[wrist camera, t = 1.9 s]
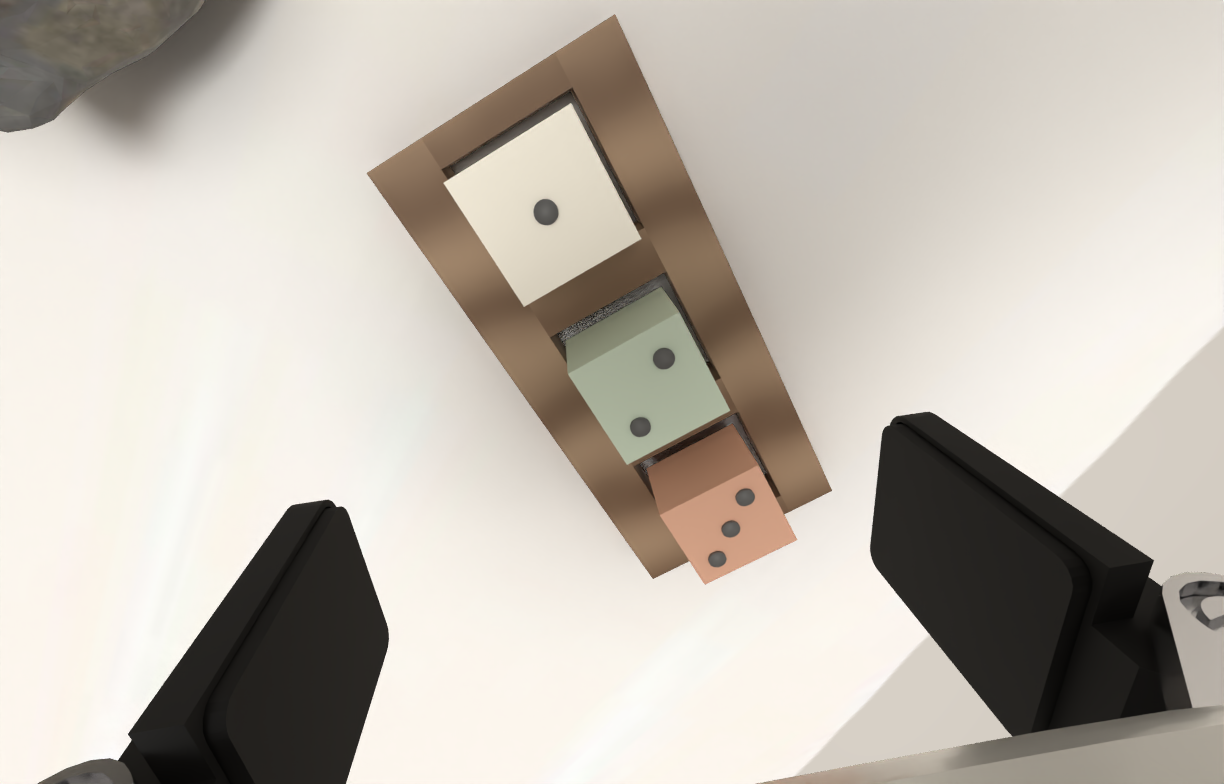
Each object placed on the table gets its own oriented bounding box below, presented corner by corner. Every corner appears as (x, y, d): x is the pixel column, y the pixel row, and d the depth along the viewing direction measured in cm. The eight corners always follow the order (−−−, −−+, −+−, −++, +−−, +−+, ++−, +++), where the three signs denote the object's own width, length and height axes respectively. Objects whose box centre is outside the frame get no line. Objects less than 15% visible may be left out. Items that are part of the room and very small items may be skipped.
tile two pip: (565, 340, 30) (567, 375, 26) (660, 286, 29) (680, 313, 25) (617, 422, 32) (627, 466, 28) (706, 374, 32) (731, 412, 27)
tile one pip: (460, 174, 26) (442, 183, 22) (567, 107, 25) (571, 102, 21) (527, 281, 29) (523, 308, 24) (627, 222, 28) (642, 239, 24)
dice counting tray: (381, 169, 28) (366, 173, 26) (609, 24, 26) (615, 14, 24) (647, 553, 40) (652, 579, 38) (815, 469, 38) (832, 490, 36)
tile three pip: (646, 468, 34) (660, 517, 30) (732, 423, 33) (759, 467, 29) (687, 532, 36) (705, 587, 32) (768, 492, 36) (798, 542, 31)
